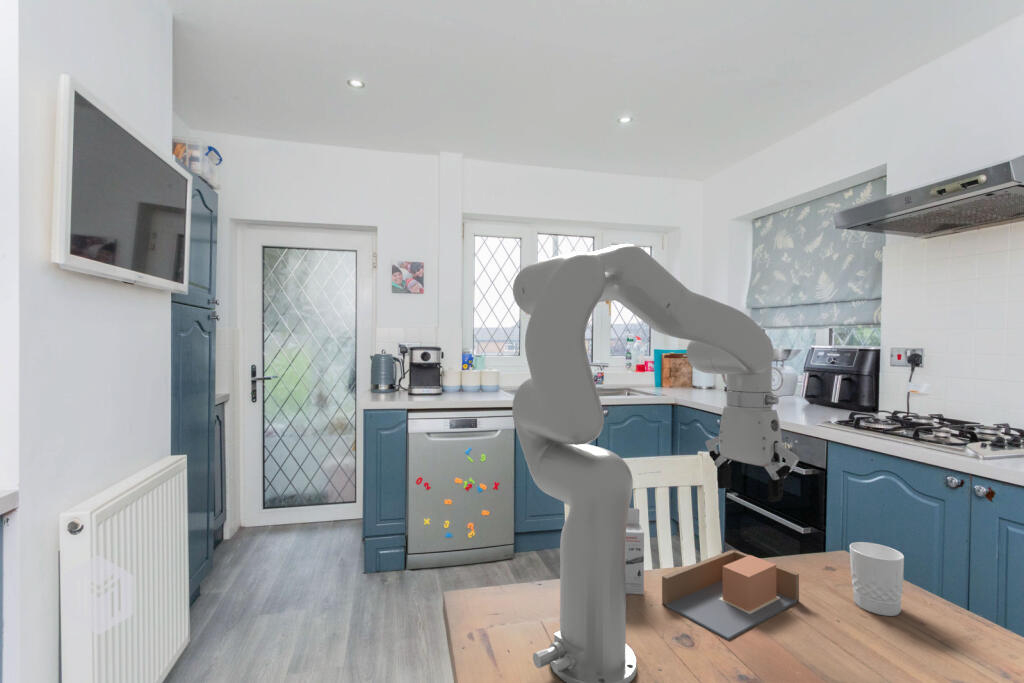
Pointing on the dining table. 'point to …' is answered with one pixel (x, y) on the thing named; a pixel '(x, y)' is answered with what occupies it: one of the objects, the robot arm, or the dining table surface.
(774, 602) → the arena
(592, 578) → the robot arm
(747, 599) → the rust block
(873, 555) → the white cup
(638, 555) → the ink box
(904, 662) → the dining table surface
